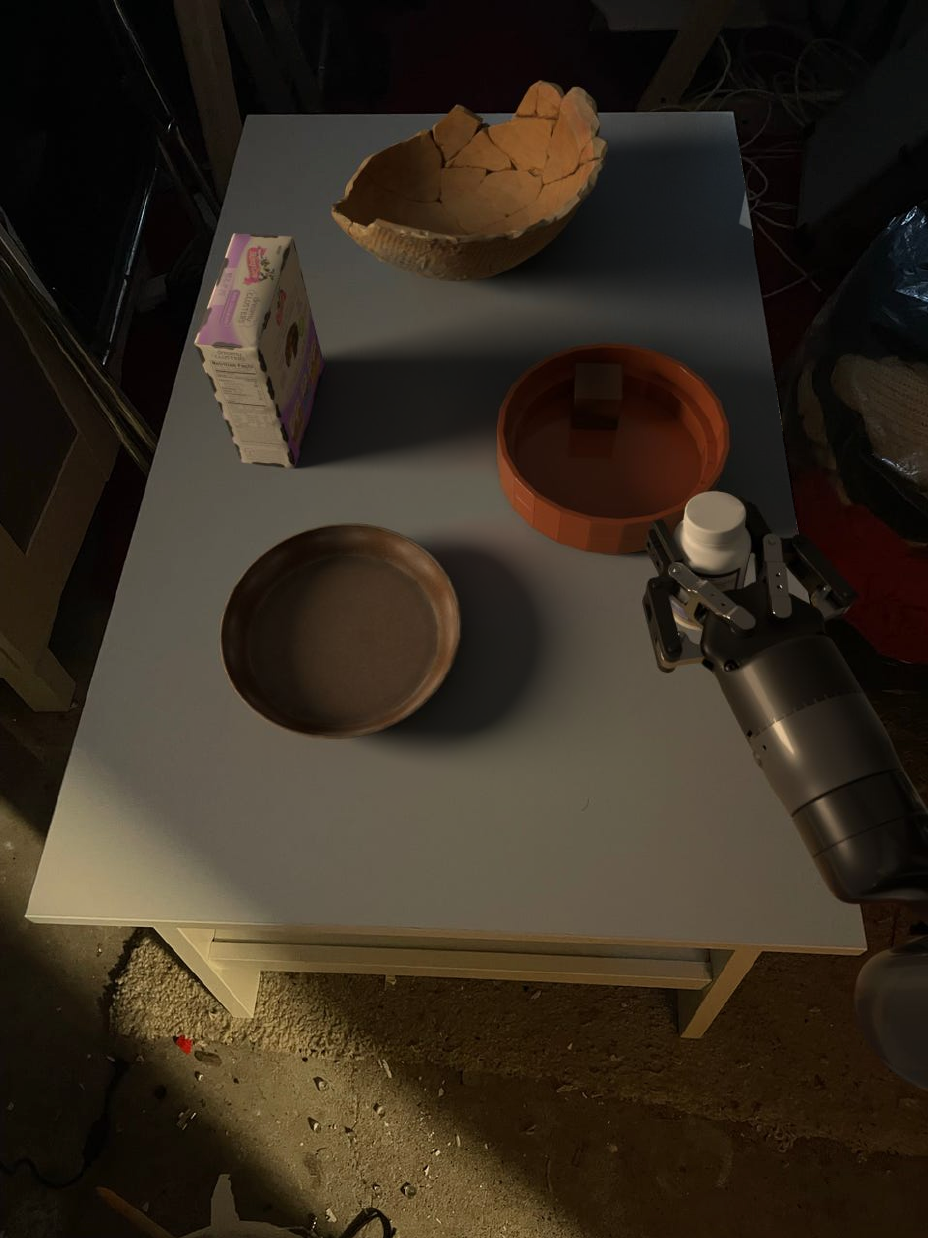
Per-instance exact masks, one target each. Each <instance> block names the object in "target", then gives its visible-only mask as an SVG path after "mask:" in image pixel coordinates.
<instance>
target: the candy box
mask: <svg viewBox="0 0 928 1238" xmlns="http://www.w3.org/2000/svg"><path fill="white" fill-rule="evenodd" d="M296 247H297V246H296V244H295V240H294V237H293V236H289V235H287V236H286V235H274V234H271V235H269V234H250V233H237V232H235V233H233V234H232V236H231V239H230V241H229V245H228V247H227V251H226V253H225V257H224V260H223V262H222V265H221V267H220V271H219V274H218V276H217V280H216V282H215V285H214V288H213V290H212V293H211V295H210V298H209V302H208V304H207V307H206V310H205V312H204V315H203V318H202V321H201V324H200V326H199V329H198V332H197V335H196V338H195V340H194V343H193V345H195V349H196V351H197V355H198V357H199V359H200V361H201V364H202V366H203V369H204V372H205V375H206V377H207V379H208V381H209V384H210V387H211V389H212V391H213V395H214V397H215V399H216V402H217V404H218V407H219V409H220V413H221V415H222V417H223V419H224V422H225V424H226V427H227V429H228V433H229V434H230V437H231V440H232V442H233V444H234V447H235V450H236V452H237V455H238V457H239V460H240V462H241V463H243V464H250V465H260V466H269V467H275V468H283V469H294V468H295V467H296V466H297V463H298V459H299V457H300V455H301V450H302V445H303V442H304V439H305V436H306V435H305V434H306V431H307V426H308V424H309V420H310V417H311V414H312V409H313V405H314V401H315V398H316V394H317V390H318V386H319V383H320V379H321V376H322V372H323V370H324V369H323V368H324V366H325V362H324V358H323V354H322V350H321V346H320V341H319V338H318V333H317V330H316V327H315V322H314V317H313V314H312V313H313V312H312V308H311V305H310V302H309V296H308V292H307V289H306V284H305V280H304V276H303V275H304V274H303V271H302V268H301V264H300V259H299V255H298V252H297V248H296Z"/></svg>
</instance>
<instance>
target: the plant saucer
mask: <svg viewBox="0 0 928 1238" xmlns="http://www.w3.org/2000/svg"><path fill="white" fill-rule="evenodd" d="M458 597H459V596H458V593H457V592H456V588H455V586H454V584H453V582H452V580H451V578H450V576H449V574H448V572H447V571H446V570H445V568H444V567H443V565H442V564H441V563H440V562H439V561H438V559H437V558H436V557H435V556H433V554H432V553H430V551H428V550H427V549H426V548H425V547H423V546H422V545H421V544H420V543H419V542H417V541H415V540H413V539H412V538H410V537H408V536H406V535H404V534H402V533H400V532H398V531H394V530H392V529H390V528H386V527H382V526H377V525H374V524H369V523H368V524H367V523H359V522H358V523H357V522H344V523H343V522H339V523H331V524H324V525H320V526H314V527H311V528H308V529H305V530H302V531H300V532H297V533H294V534H292V535H290V536H288V537H286V538H284V539H282V540H280V541H279V542H277V543H276V544H274V545H272V546H271V547H269V548H268V549H267V550H265V551H264V552H262V553H261V554H260V555H259V556H258V557H257V558H255V560H254V561H252V563H251V564H250V565H249V566H248V567H247V568H246V569H245V571H243V573H242V574H241V576H240V577H239V578H238V580H237V581H236V583H235V585H234V586H233V588H232V590H231V592H230V594H229V596H228V598H227V600H226V603H225V606H224V609H223V612H222V616H221V621H220V627H219V648H220V655H221V661H222V664H223V669H224V671H225V673H226V676H227V678H228V681H229V683H230V685H231V687H232V688H233V689H234V691H235V693H236V694H237V696H238V697H239V698H240V700H241V701H242V702H243V703H244V704H245V705H246V706H247V707H248V708H249V709H250V710H251V711H252V712H253V713H255V714H256V715H257V716H259V717H260V718H261V719H263V720H264V721H266V722H267V723H269V724H271V725H273V726H274V727H276V728H279V729H281V730H283V731H284V732H288V733H291V734H294V735H297V736H301V737H305V738H311V739H319V740H346V739H353V738H354V739H355V738H359V737H363V736H368V735H371V734H374V733H378V732H380V731H383V730H385V729H388V728H390V727H392V726H394V725H396V724H399V722H402V721H403V720H405V719H406V718H408V717H410V716H411V715H413V714H414V713H415V712H416V711H418V710H419V709H420V708H422V707H423V706H424V705H425V704H426V703H427V702H428V701H429V700H430V699H431V698H432V697H433V696H434V694H436V692H437V691H438V690H439V689H440V687H441V686H442V684H443V683H444V682H445V680H446V678H447V676H448V675H449V673H450V671H451V670H452V668H453V665H454V663H455V660H456V657H457V654H458V651H459V646H460V642H461V638H462V637H461V636H462V611H461V606H460V601H459V598H458Z"/></svg>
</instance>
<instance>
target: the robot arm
mask: <svg viewBox="0 0 928 1238" xmlns="http://www.w3.org/2000/svg"><path fill="white" fill-rule="evenodd" d="M735 497H736V498H737V499H739V500H740V501H741V502H742V503H743V505H744V507H745V509H746V520H745V527H746V529H747V530H748V532H749V534H750V537H751V552H750V555H751V554H754V558H753V561H754V563H753V564H754V575H755V581H753V582H750V583H748V584H747V585H745V586H744V588H742V589H731V590H727V591H723V592H721V591H720V590H719V589H717V588H716V587H715V586H714V585H713V584H711V583H710V582H709V581H707V580H701V579H699V578H698V577H697V576H696V575H695V574H694V573H692V572H691V571H690V570H689V569H688V568H687V567H685V566H684V565H683V564H682V563H683V560H684V558H683V556H682V554H681V552H680V550H679V548H678V546H677V545H676V543H675V541H674V539H673V537H672V535H671V533H670V531H669V529H668V527H667V526H666V524H665V522H664V520H663V519H658V520H655V521H652V522H651V525H650V529H649V530H648V533H647V537H646V541H645V547H646V550H645V551H646V552H647V554H648V556H649V558H650V560H651V562H652V564H653V565H654V568H655V570H656V571H657V574H658V576H653V577H651V578H649V579H648V581H647V583H646V585H645V586H646V588H645V592H644V594H643V597H642V601H641V604H642V608H643V609H642V610H643V612H644V617H645V621H646V625H647V628H648V632H649V637H650V640H651V645H652V649H653V652H654V658H655V661H656V665H657V668H658V669H659V671H660V672H662V673H664V674H671V673H674V671H675V670H676V668H677V667H678V666H679V667H680V666H687V665H695V664H701V665H702V666H703V667H704V668H705V669H707V670H708V671H710V673H712V674H713V676H714V677H715V679H716V680H717V682H718V684H719V687H720V690H721V692H722V694H723V696H724V698H725V700H726V701H727V704H728V706H729V708H730V709H731V711H732V714H733V716H734V717H735V719H736V721H737V723H738V725H739V727H740V729H741V731H742V733H743V735H744V738H745V739H746V741H747V743H748V745H749V747H750V749H751V751H752V755H753V759H754V761H755V763H756V764H757V766H758V768H760V769H761V770H762V773H763V775H764V776H765V778H766V780H767V782H768V784H769V786H770V787H771V789H772V790H773V793H774V794H775V795H776V796H777V798H778V799H779V801H780V802H781V803H782V805H783V807H784V808H785V810H786V811H787V812H788V815H789V817H790V818H792V819H791V820H792V822H793V824H794V826H795V828H796V830H797V832H798V834H799V836H800V838H801V840H802V842H803V844H804V846H805V848H806V850H807V852H808V853H809V855H810V857H811V859H812V862H813V863H814V865H815V867H816V869H817V871H818V873H819V876H820V877H821V879H822V881H823V882H824V884H825V886H826V887H827V889H828V891H829V892H830V893H831V894H832V896H834V898H836V900H838V901H840V902H842V903H845V904H848V905H872V904H882V903H892V904H899V905H902V906H903V907H905V908H906V909H908V911H910V912H912V914H913V915H915V916H916V917H917V918H919V919H920V920H921V921H922V922H923V923H924V924H925V925H926V926H927V927H928V808H927V805H925V803H924V801H923V799H922V797H921V796H920V794H919V793H918V791H917V788H916V787H915V786H914V785H913V783H912V781H911V779H910V777H909V776H908V774H907V772H906V771H905V768H904V767H903V765H902V763H901V761H900V758H899V756H898V754H897V751H896V750H895V749H896V748H895V747H894V744H893V741H892V740H891V737H890V736H889V733H888V731H887V730H886V727H885V726H884V725H883V723H882V721H881V719H880V717H879V716H878V714H877V712H876V711H875V709H874V707H873V705H872V704H871V702H870V700H869V699H868V696H867V695H866V694H865V692H864V691H863V688H862V687H861V685H860V683H859V682H858V680H857V678H856V677H855V675H854V674H853V672H852V670H851V667H849V665H848V663H847V662H846V660H845V658H844V656H843V654H842V652H841V651H840V650H839V648H838V646H837V645H836V642H835V641H834V640H833V639H832V638H830V637H829V636H828V635H827V632H826V628H825V623H826V622H828V621H829V620H831V619H833V620H837V621H839V620H841V619H843V618H844V617H845V615H846V614H847V613H848V611H849V610H850V608H851V607H852V606H853V604H854V603H855V602H856V600H857V598H858V593H857V591H856V589H855V588H853V586H852V585H851V584H850V583H849V582H848V581H847V580H846V578H845V577H844V576H843V575H842V574H841V573H840V571H838V569H836V567H835V565H833V564H832V563H831V562H830V561H829V560H828V558H827V557H826V556H825V555H824V554H823V553H822V552H821V550H819V548H817V546H816V545H815V544H814V543H813V542H812V541H811V539H810V538H809V537H807V535H806V534H802V533H796V534H794V535H793V536H792V537H780V536H779V535H777V534H775V533H773V531H772V530H771V528H770V526H769V525H768V523H767V522H766V519H765V518H764V516H763V515H762V513H761V511H760V509H759V508H758V506H757V505H756V504H755V503H754V502H753V501H751V500H746V498H745V497H744V496H743V495H742V494H741V495H738V496H735ZM787 570H788V571H789V572H790V573H791V575H793V577H794V578H795V579H796V580H797V581H798V583H799V584H800V585H801V586H802V587H803V589H804V590H805V591H806V592H807V593H808V594H809V595H810V596H811V597H810V603H809V602H807V601H806V600H804V599H802V598H800V597H798V596H797V595H795V594H793V593H791V592H790V591H789V582H788V580H789V579H788V571H787ZM669 597H670V598H671V599H672V600H674V601H675V602H676V603H677V604H678V605H679V606H680V607H682V609H683V610H684V613H685V615H686V616H687V617H688V618H689V619H690V620H691V621H692V622H693V623H694V624H696V625H697V626H698V627H699V628H700V629H701V630H702V631H701V636H700V641H699V643H695V642H693V641H692V640H691V639H690V637H689V635H688V634H687V633H686V631H683V630H678V627H677V622H676V621H675V619H674V615H673V611H672V607H671V604H670V600H669ZM706 606H707V607H709V609H707V607H706ZM852 1003H853V1012H854V1017H855V1021H856V1024H857V1027H858V1030H859V1032H860V1034H861V1036H862V1038H863V1040H864V1041H865V1044H866V1045H867V1046H868V1047H869V1049H870V1051H871V1052H872V1053H873V1054H874V1056H875V1057H876V1058H877V1059H878V1060H879V1061H880V1062H881V1064H883V1065H884V1066H885V1067H886V1068H887V1069H888V1070H889V1071H891V1072H892V1073H893V1074H895V1075H896V1076H897V1077H899V1078H901V1079H902V1080H903V1081H905V1082H906V1083H908V1084H910V1085H913V1086H915V1087H916V1088H919V1089H921V1090H924V1091H926V1092H928V933H927V934H924V935H922V936H919V937H916V938H913V939H911V940H908V941H906V942H902V943H899V944H897V945H895V946H894V945H893V946H891V947H888V948H887V949H884V950H882V951H880V952H878V953H876V954H874V955H873V956H872V957H871V958H869V959H868V960H867V961H866V963H864V965H863V966H862V967H861V968H860V971H859V972H858V975H857V977H856V980H855V983H854V987H853V993H852Z"/></svg>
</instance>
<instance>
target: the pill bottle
mask: <svg viewBox="0 0 928 1238" xmlns="http://www.w3.org/2000/svg"><path fill="white" fill-rule="evenodd" d="M736 497H737V496H734V495H732V494H730V493H727V492H724V491H717V490H715V491H711V492H704V493H701V494H698V495H696V496H694V497H693V498H692V499H691V500H690V501H689V502H688V503H687V505H686V507H685V514H684V520H683V521H681V522H680V523H679V524H678V526H677V527H676V529H675V530H674V533H673V535H672V537H673V539H674V541H675V543H676V545H677V546H678V548H679V550H680V552H681V554H682V556H683V558H684V560H683V563H682V564H683V565H684V566H685V567H687V568H688V569H689V570H690V571H691V572H692V573H694V574H695V575H696V576H697V577H698V578H699V579H701V580H707V581H709V582H710V583H711V584H713V585H714V586H715V587H716V588H717V589H719V590H720V591H721V592H723V591H727V590H731V589H742V588H744V587H745V582H746V576H747V572H748V567H749V561H750V557H751V554H750V552H751V537H750V534H749V532H748V530H747V529H746V527H745V520H746V509H745V507H744V505H743V503H742V502H741V501H740V500H739V499H737V498H736ZM669 600H670V604H671V607H672V611H673V615H674V619H675V622H676V624H677V623H678V624H679V625H680V626H682V627H684V628H686V629H688V630H692V631H698V632H702V630H701V629H700V628H699V627H698V626H697V625H696V624H694V623H693V622H692V621H691V620H690V619H689V618H688V617H687V616H686V615H685V613H684V610H683V609H682V607H680V606H679V605H678V604H677V603H676V602H675V601H674V600H672V599H671V598H670V597H669ZM706 607H707V606H706ZM707 609H709V607H707Z"/></svg>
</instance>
